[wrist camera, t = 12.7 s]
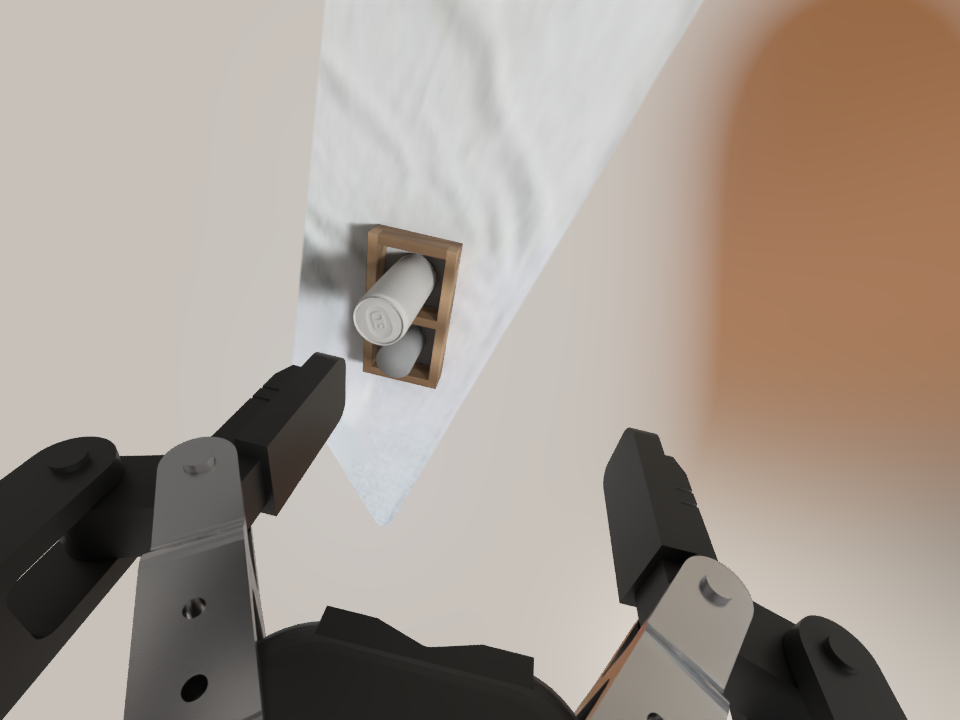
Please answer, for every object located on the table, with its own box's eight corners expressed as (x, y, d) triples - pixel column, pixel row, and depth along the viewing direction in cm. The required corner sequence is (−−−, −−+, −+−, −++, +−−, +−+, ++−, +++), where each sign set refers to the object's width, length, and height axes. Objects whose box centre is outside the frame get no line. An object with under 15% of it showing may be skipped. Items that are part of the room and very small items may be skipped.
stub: (394, 317, 49) (376, 342, 44) (427, 325, 49) (413, 351, 44) (392, 346, 51) (375, 373, 46) (424, 353, 51) (410, 381, 46)
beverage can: (401, 295, 47) (360, 348, 37) (390, 254, 45) (343, 298, 35) (441, 292, 46) (411, 345, 36) (432, 249, 44) (397, 294, 34)
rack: (378, 224, 43) (368, 231, 41) (462, 243, 43) (457, 252, 40) (371, 358, 52) (362, 371, 50) (441, 375, 52) (435, 388, 50)
